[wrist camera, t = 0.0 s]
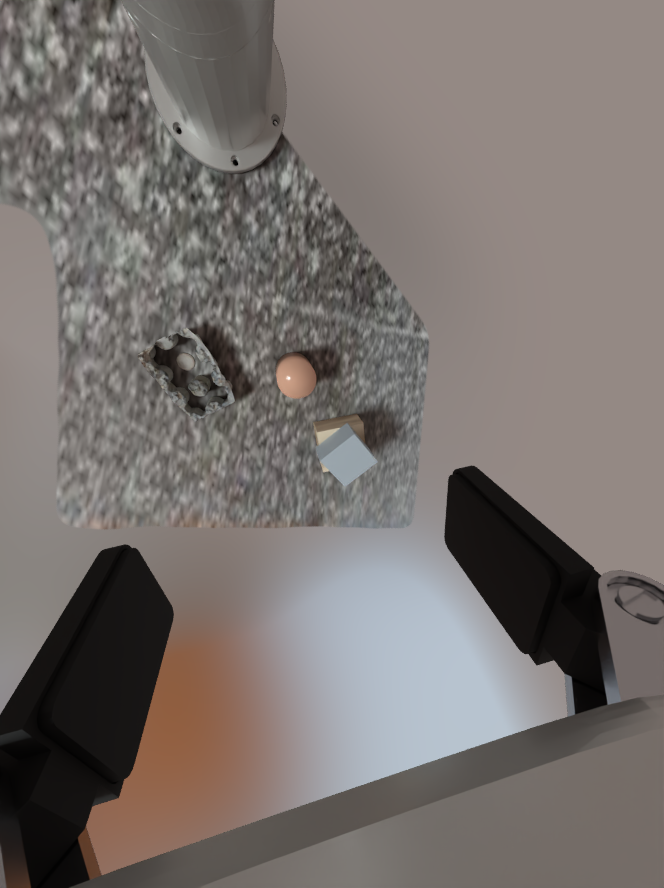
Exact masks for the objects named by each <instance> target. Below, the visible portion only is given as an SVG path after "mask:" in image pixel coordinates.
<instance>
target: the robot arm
mask: <svg viewBox="0 0 664 888" xmlns="http://www.w3.org/2000/svg"><path fill="white" fill-rule="evenodd" d="M121 2H122V4H123V6H124V8H125V10H126V12H127V14H128V16H129V18H130V20H131V22H132V24H133V26H134V28H135V30H136V32H137V34H138V36H139V38H140V40H141V42H142V44H143V46H144V48H145V49H144V55H145V69H146V75H147V79H148V84H149V88H150V92H151V94H152V97H153V100H154V103H155V106H156V108H157V110H158V112H159V114H160V116H161V118H162V120H163V122H164V124H165V125H166V127H167V128H168V130H169V132H170V133H171V135H172V136H173V137H174V139H175V140H176V141H177V142H178V144H179V145H180V146H181V147H182V148H183V149H184V150H185V151H186V152H187V153H188V154H189V155H190V156H191V157H192V158H194V159H195V160H197V161H198V162H200V163H201V164H203V165H204V166H206V167H208V168H211V169H213V170H215V171H218V172H223V173H228V174H234V173H243V172H247V171H250V170H252V169H254V168H256V167H257V166H259V165H261V164H262V163H263V162H264V161H265V160H266V159H267V158H268V157H269V156H270V155H271V153H272V151H273V150H274V148H275V147H276V145H277V143H278V140H279V138H280V136H281V133H282V129H283V124H284V120H285V112H286V84H285V77H284V70H283V67H282V63H281V59H280V56H279V53H278V50H277V48H276V45H275V43H274V41H273V20H274V0H121ZM274 121H276V122H277V123H278V125H277V126H274V125H273V122H274ZM178 129H181V130H182V133H181V134H178V133H177V130H178ZM234 161H237V162H238V165H237V166H235V165H234V164H233V162H234ZM444 537H445V543H446V545H447V547H448V549H449V551H450V552H451V553H452V555H453V556H454V558H455V559H456V561H457V562H458V563H459V565H460V566H461V568H462V569H463V571H464V572H465V573H466V575H467V576H468V578H469V579H470V580H471V582H472V583H473V585H474V586H475V588H476V589H477V591H478V592H479V593H480V595H481V596H482V597H483V599H484V600H485V602H486V603H487V605H488V606H489V608H490V609H491V610H492V612H493V613H494V615H495V616H496V617H497V619H498V620H499V622H500V623H501V624H502V626H503V627H504V629H505V630H506V632H507V633H508V634H509V636H510V637H511V639H512V640H513V642H514V643H515V644H516V646H517V647H518V649H519V650H520V651H521V652H522V653H524V654H529V655H530V657H531V658H532V660H533V661H534V663H535V664H536V665H540V664H543V663H546V662H550V661H553V660H554V661H555V662H556V663H557V664H558V666H559V667H560V668H561V669H562V671H563V672H564V674H565V687H566V700H567V712H568V717H566V718H563V719H559V720H556V721H553V722H549V723H546V724H543V725H540V726H536V727H533V728H530V729H527V730H525V731H521V732H518V733H515V734H513V735H509V736H506V737H503V738H501V739H498V740H495V741H492V742H489V743H486V744H483V745H480V746H477V747H474V748H471V749H468V750H465V751H462V752H459V753H456V754H453V755H450V756H447V757H444V758H441V759H438V760H435V761H432V762H429V763H426V764H423V765H420V766H417V767H414V768H411V769H408V770H405V771H402V772H400V773H397V774H394V775H391V776H388V777H385V778H382V779H379V780H376V781H373V782H370V783H367V784H364V785H361V786H358V787H355V788H352V789H350V790H347V791H344V792H341V793H338V794H335V795H332V796H329V797H326V798H323V799H320V800H317V801H315V802H312V803H309V804H306V805H303V806H300V807H297V808H294V809H291V810H288V811H285V812H283V813H280V814H277V815H274V816H271V817H268V818H265V819H262V820H259V821H256V822H253V823H251V824H248V825H245V826H242V827H239V828H236V829H233V830H230V831H227V832H224V833H222V834H219V835H216V836H213V837H210V838H207V839H204V840H201V841H199V842H196V843H193V844H190V845H187V846H184V847H182V848H178V849H175V850H173V851H170V852H167V853H164V854H161V855H158V856H155V857H153V858H150V859H147V860H144V861H141V862H138V863H135V864H132V865H130V866H127V867H124V868H121V869H118V870H116V871H113V872H110V873H108V874H105V875H101V871H100V868H99V865H98V862H97V859H96V855H95V853H94V849H93V846H92V843H91V840H90V837H89V834H88V830H87V828H86V824H87V821H88V818H89V814H90V812H91V808H92V806H95V805H98V804H101V803H104V802H107V801H110V800H114V799H117V798H119V796H120V792H121V789H122V785H123V781H124V779H126V778H127V777H128V776H129V775H130V773H131V771H132V769H133V766H134V763H135V759H136V756H137V752H138V749H139V745H140V741H141V737H142V734H143V730H144V726H145V722H146V719H147V715H148V711H149V707H150V704H151V700H152V696H153V692H154V689H155V685H156V681H157V678H158V674H159V670H160V667H161V663H162V659H163V655H164V652H165V648H166V644H167V640H168V637H169V633H170V629H171V625H172V622H173V616H174V613H173V608H172V605H171V604H170V602H169V601H168V599H167V597H166V595H165V594H164V592H163V590H162V589H161V587H160V585H159V584H158V582H157V581H156V579H155V577H154V575H153V574H152V572H151V571H150V569H149V567H148V566H147V564H146V562H145V561H144V559H143V557H142V556H141V554H140V552H139V551H138V550H137V549H136V548H131V547H130V546H129V545H121V546H117V547H112V548H108V549H104V550H102V551H101V552H100V553H99V554H98V556H97V557H96V559H95V561H94V562H93V564H92V566H91V567H90V569H89V570H88V572H87V574H86V575H85V577H84V579H83V580H82V582H81V584H80V585H79V587H78V588H77V590H76V592H75V593H74V595H73V597H72V598H71V600H70V602H69V603H68V605H67V606H66V608H65V610H64V611H63V613H62V615H61V616H60V618H59V620H58V621H57V623H56V625H55V626H54V628H53V629H52V631H51V633H50V635H49V636H48V638H47V639H46V641H45V643H44V644H43V646H42V647H41V649H40V651H39V652H38V654H37V656H36V657H35V659H34V660H33V662H32V664H31V665H30V667H29V669H28V670H27V672H26V674H25V675H24V677H23V678H22V680H21V682H20V683H19V685H18V687H17V688H16V690H15V692H14V693H13V695H12V696H11V698H10V700H9V701H8V703H7V705H6V706H5V708H4V709H3V711H2V713H1V715H0V888H664V585H663V584H661V583H659V582H657V581H655V580H653V579H651V578H648V577H646V576H643V575H640V574H637V573H634V572H629V571H623V570H617V571H609V572H607V573H604V574H603V575H602V576H601V575H600V574H599V573H598V572H596V571H595V570H594V567H593V566H592V565H590V564H589V563H588V562H587V561H585V559H583V558H582V557H581V556H580V555H579V554H578V553H576V552H575V551H574V550H573V549H572V548H570V547H569V546H568V545H567V544H566V543H565V542H563V541H562V540H561V539H560V538H559V537H558V536H556V535H555V534H554V533H553V532H552V531H551V530H549V529H548V528H547V527H546V526H545V525H543V524H542V523H541V522H540V521H539V520H537V519H536V518H535V517H534V516H533V515H532V514H531V513H529V512H528V511H527V510H526V509H525V508H524V507H522V506H521V505H520V504H519V503H518V502H517V501H515V500H514V499H513V498H512V497H511V496H509V495H508V494H507V493H506V492H505V491H504V490H503V489H501V488H500V487H499V486H498V485H497V484H495V483H494V482H493V481H492V480H491V479H490V478H488V477H487V476H486V475H485V474H484V473H483V472H481V471H480V470H479V469H478V468H477V467H475V466H468V467H464V468H459V469H456V470H454V472H453V475H450V476H449V479H448V493H447V507H446V522H445V536H444Z"/></svg>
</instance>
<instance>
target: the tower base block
mask: <svg viewBox="0 0 664 888" xmlns="http://www.w3.org/2000/svg"><path fill="white" fill-rule="evenodd" d="M313 423H314V429H315V435H316V441H317V446H318V445H319V444H321V443H322V442H323V441H324V440H326V439H327V438H328V437H330V436H331V435H332V434H333V433H335V432H336V431H337V430H338V429H340V428H341V427H342V426H343V425H345V424H346V423H348V424H349V425H350V426H351V428H352V429H353V430H354V431H355V432H356V434H357V435H358V436H359V437H360V438H361V440H362V441H363V442H364V443H365V436H364V424H363V422H362V420H361V419H360V418H359V416H358V415H357V414H353V415H348V416H343V417H338V418H333V419H327V420H322V421H317V422H313ZM320 463H321V462H320ZM321 466H322V469H323V472H327V471H329V470H328V469H327V468H326V467H325V466H324V465H323V464H322V463H321Z"/></svg>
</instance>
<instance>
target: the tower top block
mask: <svg viewBox="0 0 664 888" xmlns="http://www.w3.org/2000/svg"><path fill="white" fill-rule="evenodd" d="M316 451H317V454H318V457H319V460H320V462H321V463H322V464H323V465H324V466H325V467H326V468H327V469H328V470H329V471H330V472H331V473H332V474H333V475H334V476H335V477H336V478H337V479H338V480H339V481H340V482H341V483H342V484H343V485H344V486H347V485H348V484H349V483H350V482H352V481H353V480H354V479H356V478H357V477H358V476H360V475H361V474H362V473H364V472H365V471H366V470H368V469H369V468H370V467H372V466H373V465H374V464H376V463H377V462H378V461H377V460H376V458H375V457H374V455H373V454H372V452H371V451H370V449H369V448H368V447H367V445H366V444H365V443H364V442H363V441H362V440H361V438H360V437H359V436H358V435H357V434H356V432H355V431H354V430H353V429H352V428H351V426H350V425H349V424H348V423H346V424H345V425H343V426H342V427H341V428H340V429H338V430H337V431H336V432H335V433H333V434H332V435H331V436H330V437H328V438H327V439H326V440H324V441H323V442H322V443H321V444H319V445H318V446H317V447H316Z"/></svg>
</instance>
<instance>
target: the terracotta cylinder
mask: <svg viewBox="0 0 664 888" xmlns="http://www.w3.org/2000/svg"><path fill="white" fill-rule="evenodd" d="M276 376H277V383H278V386H279V388H280V390H281V391H282V392H283V393H284V394H285V395H286V396H288V397H291V398H303V397H305V396H307V395H309V394H310V393H311V392H312V391H313V389H314V387H315V385H316V373H315V371H314V369H313V367H312V366H311V364H310V362H309V361H308V359H307V358H306V357H305V356H304V355H302V354H300V353H296V352H290V353H287V354H285V355H283V356H282V357H281V358H280V359H279V360H278V362H277V364H276Z"/></svg>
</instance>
